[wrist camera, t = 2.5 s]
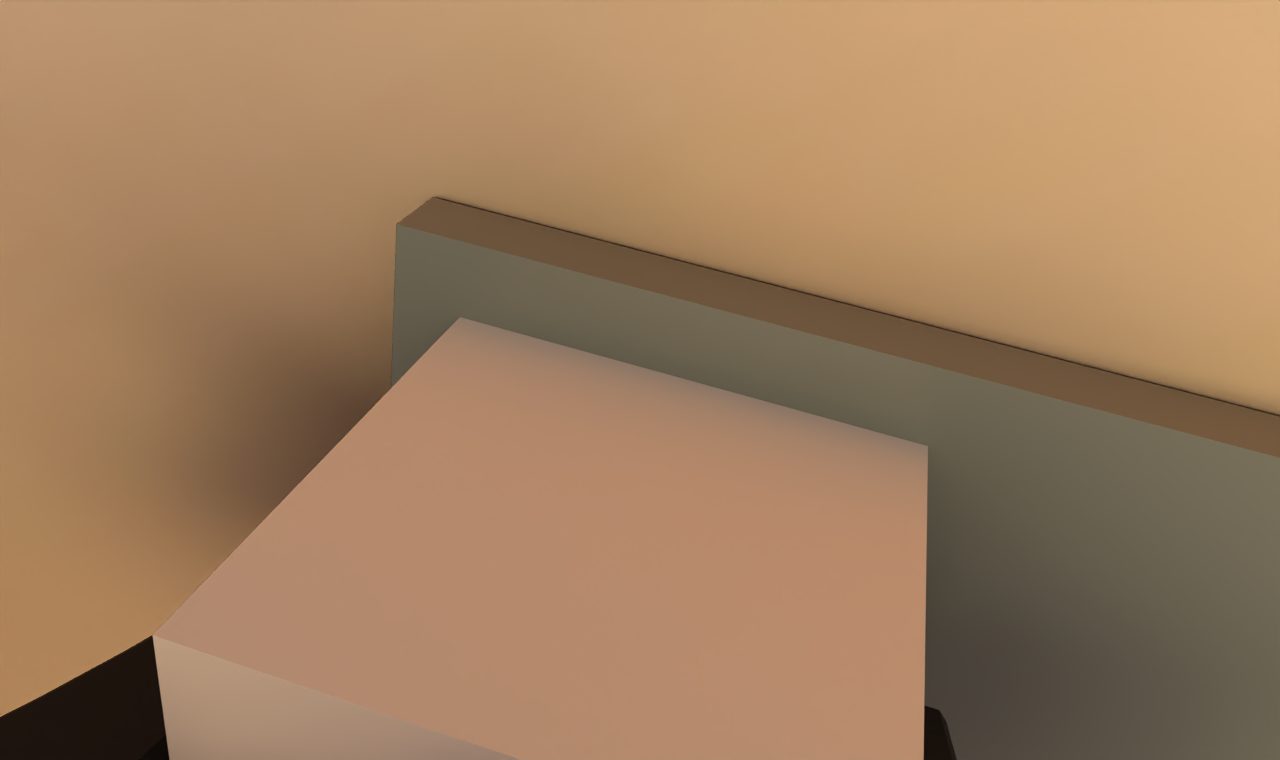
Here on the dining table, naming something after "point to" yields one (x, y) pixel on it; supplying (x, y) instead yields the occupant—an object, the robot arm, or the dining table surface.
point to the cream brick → (567, 579)
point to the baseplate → (956, 484)
